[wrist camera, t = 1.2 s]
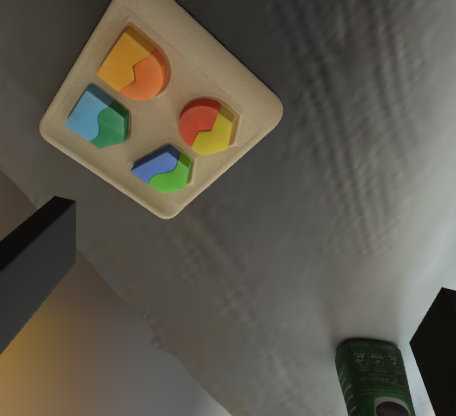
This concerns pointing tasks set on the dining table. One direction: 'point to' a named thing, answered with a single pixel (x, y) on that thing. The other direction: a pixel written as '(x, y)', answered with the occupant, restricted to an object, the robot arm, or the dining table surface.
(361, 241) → the dining table surface
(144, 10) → the puzzle board
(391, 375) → the coffee jar
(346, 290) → the dining table surface
